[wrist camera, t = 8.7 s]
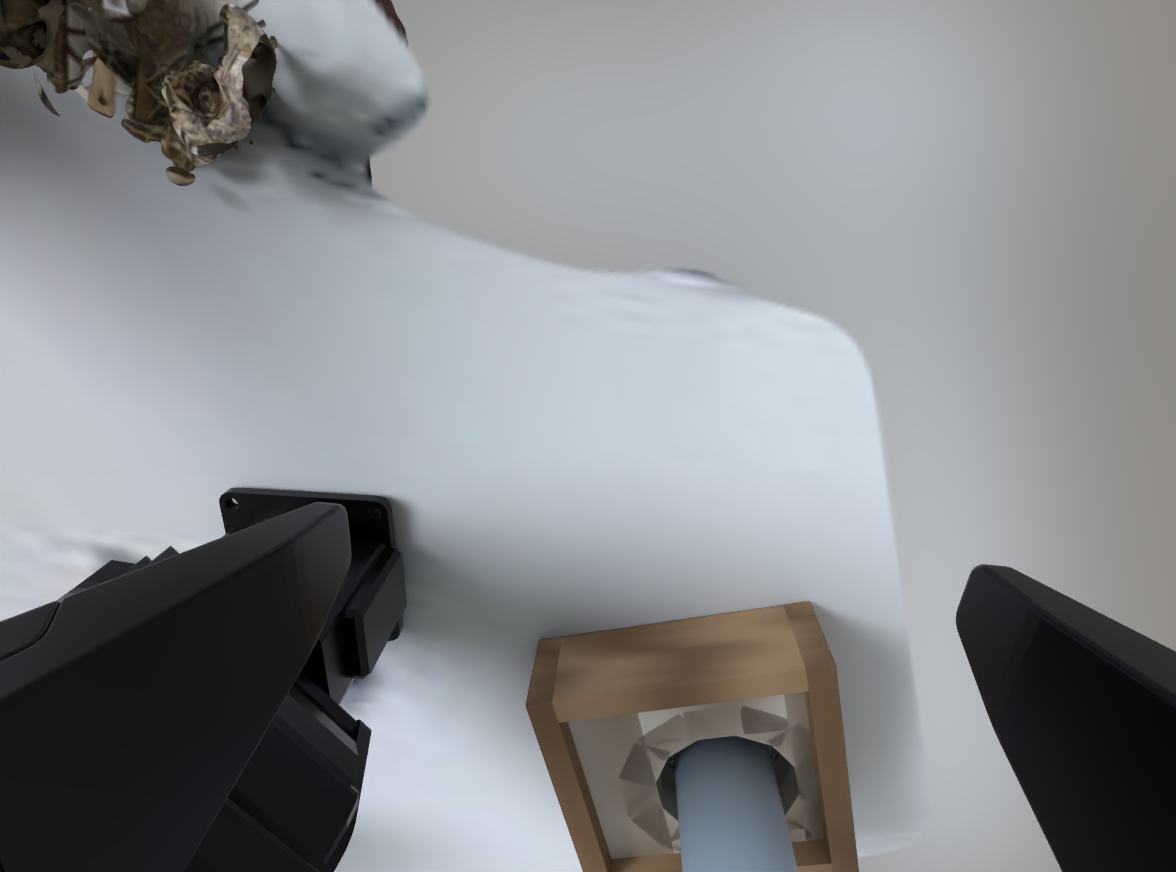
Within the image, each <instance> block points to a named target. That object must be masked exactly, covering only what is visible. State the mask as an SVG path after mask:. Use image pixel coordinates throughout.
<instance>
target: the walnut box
mask: <svg viewBox="0 0 1176 872" xmlns="http://www.w3.org/2000/svg"><path fill="white" fill-rule="evenodd" d="M526 708H527V711H528V714H529V717H530V720H531V723H532V726H533V728H534V731H535V734H536V737H537V740H538V743H539V746H540V749H541V752H542V754H543V757H544V760H545V763H546V766H547V769H548V772H549V775H550V778H551V780H552V783H553V786H554V789H555V792H556V795H557V798H558V801H559V804H560V806H561V809H562V812H563V815H564V818H565V821H566V824H567V827H568V830H569V832H570V835H571V838H572V841H573V844H574V847H575V850H576V853H577V855H578V858H579V861H580V864H581V867H582V870H583V872H682V861H681V848H680V834H679V820H678V807H677V793H676V780H675V769H674V768H672V767H671V766H670V765H669V764H668V763H667V762H666V761H667V759H668V758H669V757H670V756H672V755H674V754H675V753H677V752H679V751H680V750H682V749H684V748H685V747H687V746H689V745H690V744H692V743H694V742H695V741H697V740H703V739H712V738H720V737H729V736H739V737H742V738H746V739H749V740H753V741H757V742H760V743H764V744H767V745H771V746H773V747H774V748H775V749H776V750H777V751H778V752H779V754H778V755H777V757H776V759H775V760H774V762H773V768H774V772H775V776H776V780H777V785H778V789H779V793H780V797H781V801H782V806H783V810H784V814H785V818H786V822H787V826H788V831H789V835H790V839H791V843H792V847H793V852H794V856H795V860H796V864H797V868H798V872H859V868H858V859H857V850H856V841H855V833H854V824H853V815H852V806H851V797H850V788H849V779H848V770H847V761H846V752H845V743H844V734H843V725H842V716H841V707H840V698H839V689H838V680H837V671H836V664H835V662H834V659H833V657H832V655H831V652H830V650H829V647H828V645H827V643H826V640H825V638H824V635H823V633H822V630H821V628H820V626H819V623H818V621H817V618H816V616H815V614H814V611H813V609H812V606H811V604H810V601H808V602H801V603H794V604H787V605H780V606H773V607H766V608H759V609H753V610H746V611H739V612H732V613H725V614H718V615H711V616H704V617H698V618H691V619H684V620H677V621H670V622H663V623H656V624H649V625H642V626H636V627H629V628H622V629H615V630H608V631H601V632H594V633H587V634H580V635H574V636H567V637H560V638H553V639H546V640H539V641H538V646H537V651H536V656H535V661H534V666H533V671H532V676H531V681H530V686H529V691H528V696H527V701H526Z"/></svg>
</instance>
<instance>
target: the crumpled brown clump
mask: <svg viewBox="0 0 1176 872" xmlns="http://www.w3.org/2000/svg"><path fill="white" fill-rule="evenodd" d="M258 2H259V0H0V66H4V67H8V68H12V69H23V68H27V67H31V66H33V65H36V66H37V67H40V68H41V69H42V70H43V71H44V72H45V73H47V80H48V83H49V85H50V86H51V88H52V89H53V90H54V91H56V92H57V93H60V94H61V93H65V92H67V91H68V90H69V89H70V90H75V91H76V92H77V93H78V94H79V95H80V96H82V97H84V98H85V99H86V101H87V104H88V105H89V107H90V108H91V109H92V110H94V111H96V112H98V113H99V114H102V115H104V116H106V117H109V118H112V117H113V116H114V113H115V111H116V98H117V96H118V95H122V94H123V96H128V95H129V94H130V96H129V98H128V101H127V104H126V113H127V116H126V117H125V118H124V119H123V120H122V122H121V125H122V126H123V127H124V128H125V129H126V130H127V131H128V132H129V133H130V134H131V135H133V136H134V137H136V138H137V139H139V140H141V141H143V142H145V143H148V142H150V141H158V142H161V146H162V152H163V154H164V155H165V156H166V157H167V158H169V159H170V160H172V162H173V164H174V165H175V167H174V166H171V167H169V168H167V170H166V173H167V176H168V178H169V179H170V180H171V181H172V182H173V183H174V184H176V185H179V186H188V185H190V184H192V183H193V182H194V181H195V175H194V174H192V173H189V172H191V171H192V170H193V169H194V168H195V167H196V166H203V165H206V164H209V163H212V162H215V161H216V160H217V159H218V158H219V157H220V155H221V153H223V152H225V151H227V150H228V149H230V148H231V147H233V146H234V148H235V149H236V150H238V149H239V148H238V145H237V143H236V142H237V141H238V140H240V139H243V138H246V136H247V135H248V133H249V131H250V130H251V126H250V125H251V124H252V123H253V122H254V121H255V120H258V119H259V118H260V116H261V115H262V114H263V112H264V110H265V109H266V108H267V106H268V104H269V100H270V98H271V96H272V95H273V93H274V92H275V89H274V88H272V81H273V76H274V73H275V69H276V63H277V61H276V55H275V51H274V50H275V48H276V47H277V40H276V38H275V37H274V36H271V37H270V39H268V37H267V35H266V34H265V32H264V31H263V30H262V29H261V28H262V27H265V25H266V24H265V21H264V20H261V21H259V22H257V23H256V22H255V20H254V19H253V18H252V17H251V16H250V15H248V14H247V13H246V12H248V11H249V10H251V9H252V8H254V7H255V6H256V5H257V4H258ZM373 2H374V3H375V5H376V7H377V8H378V10H379V11H380V12H381V13H382V14H383V15H384V17H385V18H386V20H387V21H388V23H389V24H390V25H391V26H392V27H393V28H394V30H395V31H396V33H397V35H398V36H399V37H400V38H401V39H402V40H403V42H404V43H405V45H406V47H407V48H408V40H407V35H406V30H405V28H404V26H403V24H402V22H401V21H400V19H399V17H398V16H397V14H396V12H395V9H394V6H393V4H392V1H391V0H373ZM223 31H224V33H223ZM223 42H224V48H223V51H222V53H221V56H220V57H219V58H218V60H219V62H220V65H219V66H217V67H214V66H211V65H210V63H209V61H208V60H207V59H206V58H205V56H204V53H205V51H206V50H208V49H209V48H211V47H214V46H216V45H218V44H220V43H223ZM88 50H92V51H93V57H91V58H88V59H84V60H82V58H83V56H84V54H85V53H86V52H87V51H88ZM92 65H93V69H94V74H93V80H92V81H93V83H92V84H91V85H90V86H89V87H88V86H87V87H84V86H83V84H82V83H81V81H82V79H83V77H84V75H85V73H86V71H87V70H88V69H89V68H90V67H91V66H92ZM33 73H34V71H33ZM34 77H35V82H36V87H37V90H38V94H39V96H40V98H41V100H42V102H43V103H44V105H45V106H46V107H47V108H48V109H49V110H50V111H51V112H52V113H54V114H56V115H58V116H59V114H58V113H57V112H56V111H55V109H54V108H53V106H52V105H51V103H50V101H49V100H48V98H47V96H46V94H45V92H44V90H43V88H42V86H41V84H40V82H39V80H38V78H37V76H36V74H35V73H34ZM123 90H125V91H124V93H123ZM250 144H253V142H252V141H251V140H250ZM365 175H366V178H367V180H368V181H369V183H370V184H371V186H372V175H371V168H370V158H369V159H368V161H367V163H366V164H365Z"/></svg>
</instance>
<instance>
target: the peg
mask: <svg viewBox="0 0 1176 872" xmlns="http://www.w3.org/2000/svg"><path fill="white" fill-rule="evenodd" d="M674 766H675V780H676V793H677V807H678V820H679V834H680V848H681V861H682V872H798V868H797V864H796V860H795V856H794V852H793V847H792V843H791V839H790V835H789V831H788V826H787V822H786V818H785V814H784V810H783V806H782V801H781V797H780V793H779V789H778V785H777V780H776V776H775V772H774V768H773V764H772V760H771V755H770V751H769V747H768V745H767V744H764V743H760V742H757V741H753V740H749V739H746V738H742V737H739V736H729V737H720V738H712V739H703V740H697V741H695V742H694V743H692V744H690V745H689V746H687V747H685V748H684V749H682V750H680V751H679V752H677V753H675V754H674Z"/></svg>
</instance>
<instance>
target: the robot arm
mask: <svg viewBox="0 0 1176 872" xmlns="http://www.w3.org/2000/svg"><path fill="white" fill-rule="evenodd" d="M232 498H233V499H235V500H236V501H237V502H238V504H239V505H237V504H235V503H234V502H233V500H232ZM219 504H220V508H221V513H222V518H223V522H224V527H225V532H226V534H225V535H224V536H223V537H222V538H220V539H217V540H214V541H212V542H209V543H206V544H204V545H201V546H199V547H196V548H193V549H191V550H188V551H185V552H183V553H180V554H179V553H178V552H177V551H176V550H175V549H174V548H173V547H171V546H170V547H169V548H167V549H166V550H165V551H163V552H162V553H161V554H160V555H158V556H157V557H156V558H154V559H153V560H151V559H150V558H149V557H147V556H145V557H144V558H143V559H142V560H140V561H139V562H138V563H136V564H133V563H127V562H121V561H114V560H111V561H110V562H108V563H107V564H106V565H104V566H103V567H102V568H100V569H99V570H98V571H96V572H95V573H94V574H92V575H91V576H90V577H88V578H87V579H86V580H84V581H83V582H82V583H80V584H79V585H78V586H76V587H75V588H74V589H72V590H71V591H69V592H68V593H67V594H65V595H64V596H62V597H61V598H59V599H58V600H57V601H54V602H51V603H49V604H46V605H43V606H41V607H38V608H35V609H33V610H30V611H28V612H25V613H22V614H20V615H17V616H14V617H12V618H9V619H6V620H3V621H1V622H0V872H334V870H335V869H336V867H337V865H338V863H339V862H340V860H341V858H342V856H343V854H344V852H345V850H346V848H347V846H348V843H349V841H350V839H351V836H352V833H353V830H354V826H355V822H356V817H357V811H358V806H359V800H360V794H361V789H362V783H363V777H364V771H365V766H366V760H367V754H368V748H369V743H370V737H371V729H370V728H369V727H367V726H366V725H365V724H364V723H363V722H362V721H361V720H357V721H356V720H355V719H354V718H353V717H351V716H350V715H349V714H348V713H347V712H346V711H345V710H344V709H343V708H342V707H341V706H339V705H340V704H341V702H342V700H343V698H344V696H345V694H346V693H347V691H348V689H349V687H350V685H351V684H352V682H353V680H354V678H358V679H365V678H366V677H367V676H368V675H369V674H370V673H371V672H372V670H373V668H374V666H375V664H376V662H377V660H378V658H379V657H380V655H381V653H382V651H383V649H384V647H385V645H386V643H387V641H393V640H395V639H397V638H398V636H399V635H400V633H401V631H402V629H403V621H402V612H403V611H404V609H405V607H406V592H405V582H404V571H403V560H402V554H401V552H400V551H399V550H398V549H397V548H395V538H394V528H393V517H392V508H391V505H390V503H389V502H388V501H387V500H386V499H385V498H383V497H379V496H368V495H351V494H335V493H318V492H302V491H285V490H269V489H252V488H231V489H229V490H227V491H226V492H225V493H224V494H222V495H221V497H220V499H219ZM372 507H377V508H378V509H380V510H381V514H379V513H376V512H375V511H373V508H372ZM956 625H957V630H958V633H959V636H960V639H961V641H962V644H963V647H964V650H965V653H966V655H967V658H968V661H969V664H970V666H971V669H972V672H973V674H974V677H975V680H976V683H977V686H978V689H979V691H980V694H981V697H982V700H983V702H984V705H985V708H986V711H987V713H988V716H989V718H990V721H991V723H992V726H993V728H994V731H995V733H996V735H997V737H998V739H999V742H1000V744H1001V746H1002V748H1003V750H1004V752H1005V754H1006V756H1007V758H1008V760H1009V763H1010V765H1011V767H1012V769H1013V771H1014V773H1015V775H1016V777H1017V779H1018V781H1019V783H1020V785H1021V787H1022V789H1023V791H1024V794H1025V796H1026V798H1027V800H1028V802H1029V804H1030V806H1031V808H1032V810H1033V812H1034V814H1035V816H1036V818H1037V820H1038V822H1039V825H1040V827H1041V829H1042V831H1043V833H1044V835H1045V837H1046V839H1047V841H1048V843H1049V845H1050V847H1051V849H1052V851H1053V853H1054V855H1055V857H1056V860H1057V862H1058V864H1059V866H1060V868H1061V870H1062V872H1176V652H1175V651H1173V650H1172V649H1169V648H1167V647H1166V646H1164V645H1162V644H1159V643H1158V642H1156V641H1154V640H1152V639H1150V638H1148V637H1146V636H1144V635H1142V634H1140V633H1138V632H1136V631H1134V630H1132V629H1130V628H1128V627H1126V626H1124V625H1122V624H1120V623H1119V622H1117V621H1115V620H1113V619H1111V618H1109V617H1107V616H1105V615H1103V614H1101V613H1099V612H1097V611H1095V610H1093V609H1091V608H1089V607H1087V606H1085V605H1083V604H1081V603H1079V602H1077V601H1075V600H1073V599H1071V598H1070V597H1068V596H1066V595H1064V594H1061V593H1060V592H1058V591H1056V590H1054V589H1052V588H1050V587H1048V586H1046V585H1044V584H1042V583H1040V582H1038V581H1036V580H1034V579H1032V578H1030V577H1028V576H1026V575H1024V574H1022V573H1021V572H1019V571H1016V570H1014V569H1012V568H1010V567H1006V566H996V565H983V564H982V565H978V566H976V567H975V568H974V569H973V570H972V571H971V573H970V575H969V579H968V581H967V584H966V587H965V589H964V592H963V595H962V598H961V601H960V603H959V606H958V609H957V613H956Z"/></svg>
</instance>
